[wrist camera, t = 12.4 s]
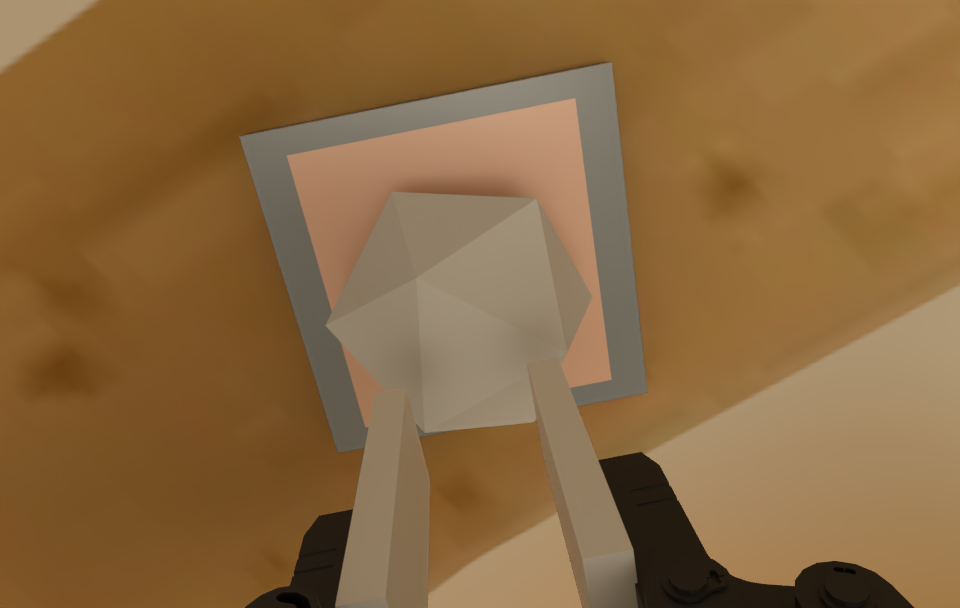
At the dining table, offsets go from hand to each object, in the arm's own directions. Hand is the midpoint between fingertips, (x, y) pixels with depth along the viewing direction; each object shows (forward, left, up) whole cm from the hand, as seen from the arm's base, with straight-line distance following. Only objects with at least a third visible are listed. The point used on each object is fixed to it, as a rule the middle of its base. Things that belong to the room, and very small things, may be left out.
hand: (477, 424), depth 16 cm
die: (0, 0, -12) cm, 12 cm away
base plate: (0, 0, -13) cm, 13 cm away
